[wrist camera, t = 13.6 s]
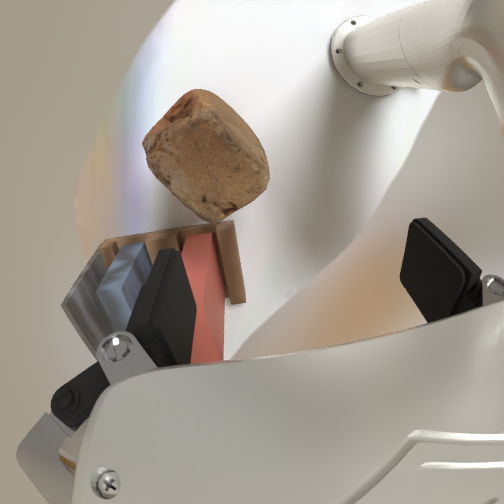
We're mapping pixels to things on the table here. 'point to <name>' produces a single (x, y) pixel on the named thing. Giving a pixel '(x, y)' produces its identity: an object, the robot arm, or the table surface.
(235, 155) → the block
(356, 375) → the robot arm
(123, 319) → the book stand
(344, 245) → the table surface
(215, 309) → the book
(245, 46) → the table surface
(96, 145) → the table surface
